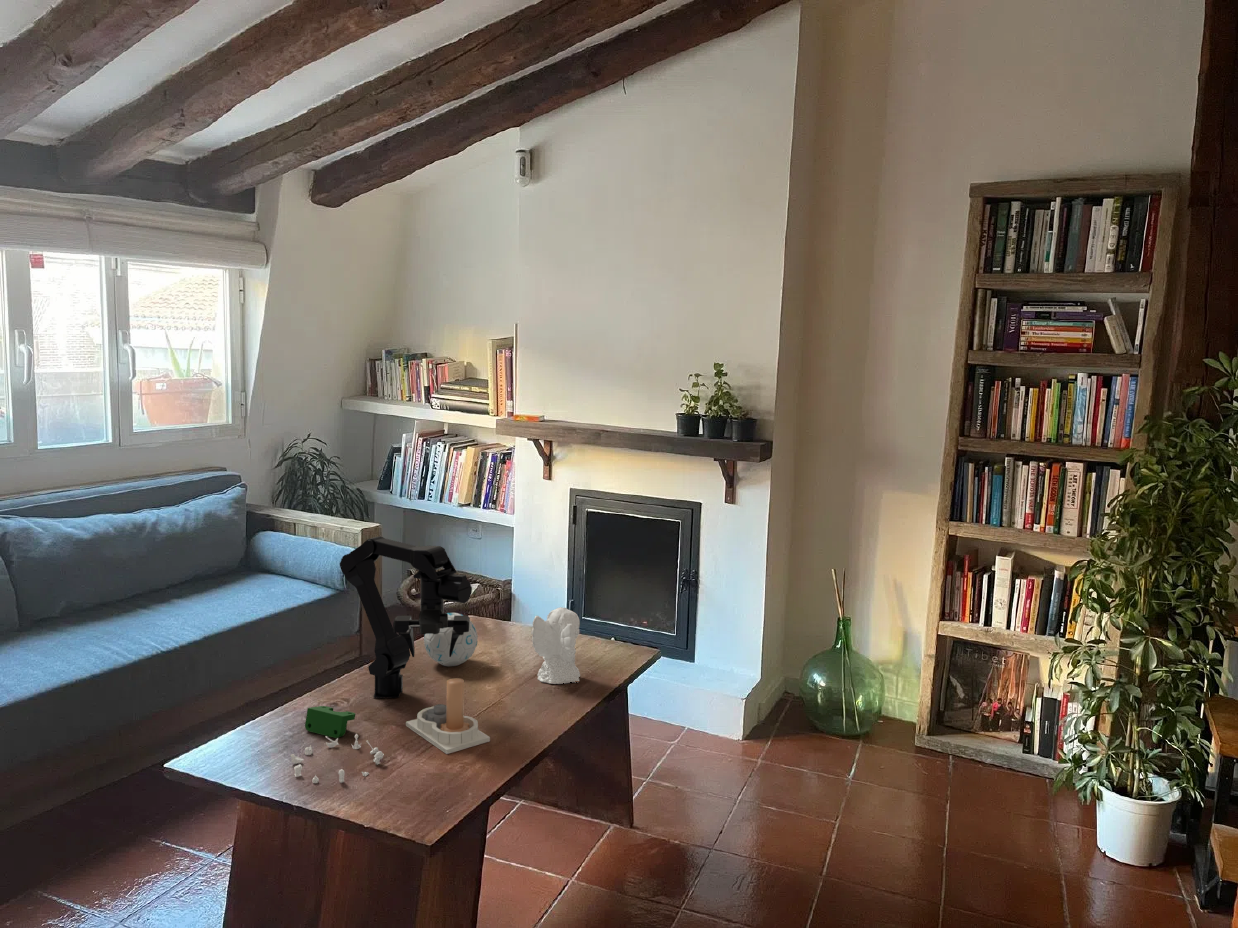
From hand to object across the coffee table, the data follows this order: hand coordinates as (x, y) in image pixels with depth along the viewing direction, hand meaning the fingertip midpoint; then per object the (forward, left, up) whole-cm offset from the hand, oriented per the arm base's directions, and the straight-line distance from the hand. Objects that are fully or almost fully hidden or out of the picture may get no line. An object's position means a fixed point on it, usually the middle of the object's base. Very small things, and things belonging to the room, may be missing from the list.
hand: (431, 656), depth 238 cm
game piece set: (-18, -32, -14) cm, 39 cm away
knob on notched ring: (+7, -20, -12) cm, 24 cm away
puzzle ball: (+3, +30, -13) cm, 33 cm away
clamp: (-22, -14, -13) cm, 30 cm away
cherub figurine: (+34, +17, -13) cm, 40 cm away
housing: (+5, -17, -13) cm, 22 cm away
